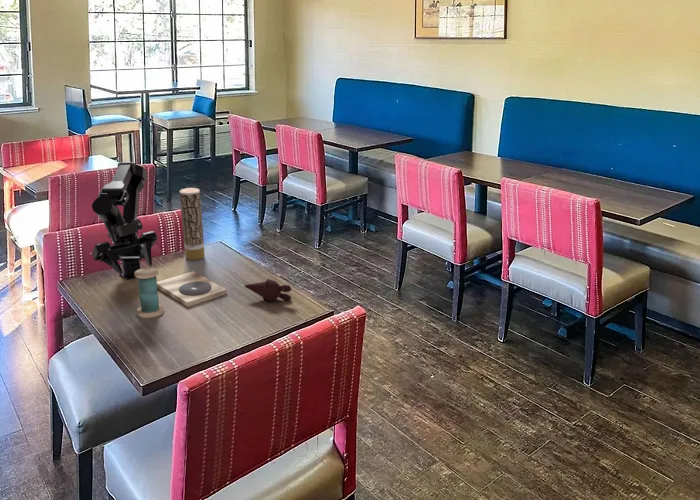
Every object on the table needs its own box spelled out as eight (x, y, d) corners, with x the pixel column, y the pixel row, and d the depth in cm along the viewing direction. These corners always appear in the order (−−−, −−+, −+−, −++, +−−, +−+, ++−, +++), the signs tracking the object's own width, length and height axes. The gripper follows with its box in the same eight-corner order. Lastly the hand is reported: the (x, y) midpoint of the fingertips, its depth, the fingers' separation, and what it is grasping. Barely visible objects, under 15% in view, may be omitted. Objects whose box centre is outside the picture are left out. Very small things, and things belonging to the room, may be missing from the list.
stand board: (155, 286, 209) (154, 281, 208) (193, 275, 218) (193, 270, 217) (187, 306, 196) (187, 301, 195) (226, 293, 205) (226, 288, 204)
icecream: (240, 284, 196) (287, 292, 194) (248, 269, 202) (294, 277, 200) (241, 301, 200) (288, 310, 198) (249, 287, 206) (294, 294, 204)
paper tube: (200, 261, 230) (194, 193, 221) (182, 260, 231) (176, 192, 222) (207, 254, 236) (202, 188, 227) (190, 253, 237) (184, 187, 228)
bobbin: (132, 312, 192) (127, 271, 187) (156, 304, 197) (152, 265, 192) (144, 320, 187) (140, 279, 182) (168, 312, 192) (164, 272, 187)
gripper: (90, 218, 183) (112, 265, 179) (151, 205, 195) (173, 249, 191) (83, 237, 191) (103, 282, 188) (142, 224, 203) (162, 266, 200)
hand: (136, 269), depth 191 cm, fingers open, 9 cm apart
